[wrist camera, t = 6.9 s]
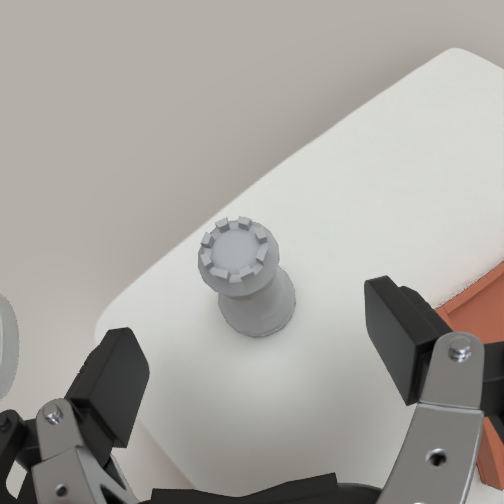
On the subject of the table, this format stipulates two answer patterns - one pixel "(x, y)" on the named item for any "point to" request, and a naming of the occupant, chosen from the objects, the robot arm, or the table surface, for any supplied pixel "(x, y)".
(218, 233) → the rook chess piece
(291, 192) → the table surface
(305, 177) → the table surface
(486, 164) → the table surface
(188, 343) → the table surface
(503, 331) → the terracotta tray
